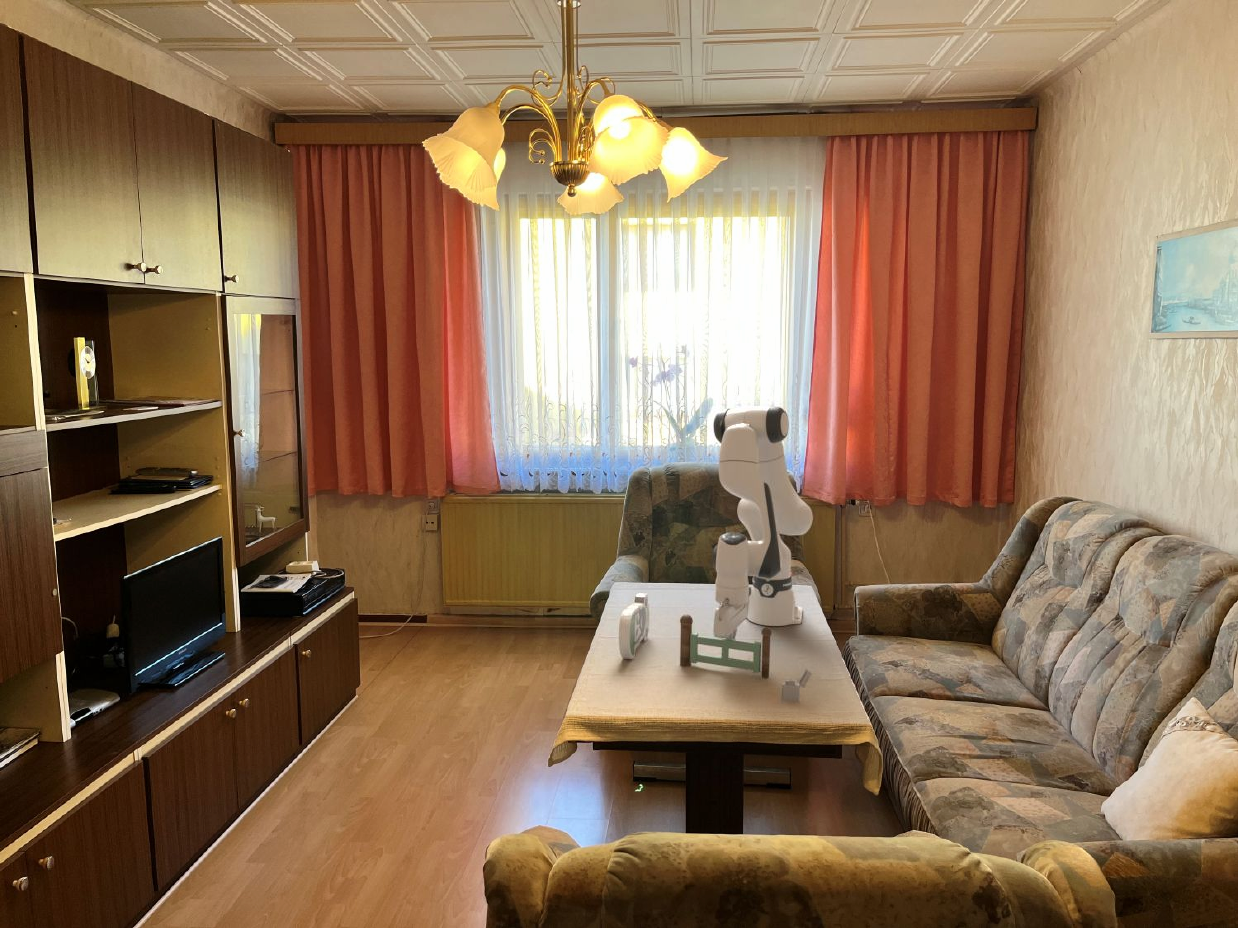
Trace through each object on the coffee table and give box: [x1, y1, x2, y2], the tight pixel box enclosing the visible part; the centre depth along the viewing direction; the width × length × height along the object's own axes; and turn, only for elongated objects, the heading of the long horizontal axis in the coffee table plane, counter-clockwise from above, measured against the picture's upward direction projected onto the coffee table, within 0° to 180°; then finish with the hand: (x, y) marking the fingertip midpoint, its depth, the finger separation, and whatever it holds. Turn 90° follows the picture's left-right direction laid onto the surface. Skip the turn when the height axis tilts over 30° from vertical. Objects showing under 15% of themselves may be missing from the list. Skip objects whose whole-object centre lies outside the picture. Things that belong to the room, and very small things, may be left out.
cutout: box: [618, 592, 650, 660], centre depth 262 cm, size 15×3×25 cm
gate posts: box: [679, 614, 773, 679], centre depth 246 cm, size 3×25×14 cm, turn 66°
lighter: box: [780, 668, 813, 703], centre depth 227 cm, size 7×2×8 cm, turn 87°
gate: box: [690, 631, 762, 675], centre depth 246 cm, size 2×19×8 cm, turn 66°
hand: (730, 644), depth 251 cm, fingers closed
